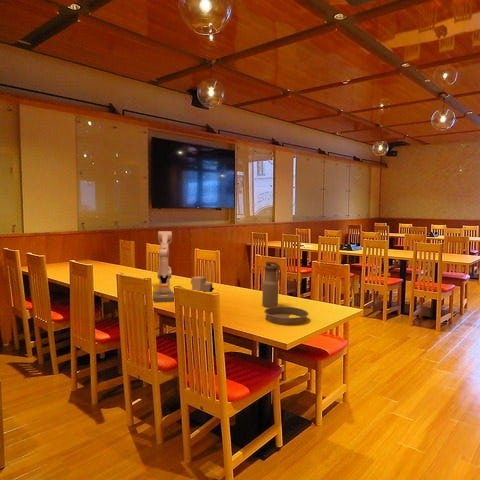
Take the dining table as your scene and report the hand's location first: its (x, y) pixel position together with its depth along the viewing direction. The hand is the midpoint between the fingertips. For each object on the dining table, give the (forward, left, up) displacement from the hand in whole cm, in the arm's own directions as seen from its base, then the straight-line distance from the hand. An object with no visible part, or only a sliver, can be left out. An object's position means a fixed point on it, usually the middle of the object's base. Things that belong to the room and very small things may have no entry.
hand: (163, 286), depth 272 cm
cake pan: (+66, +65, -7) cm, 93 cm away
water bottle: (+36, +65, -7) cm, 75 cm away
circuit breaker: (+14, +25, -7) cm, 30 cm away
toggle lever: (+6, 0, -3) cm, 7 cm away
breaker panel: (+8, 0, -7) cm, 11 cm away
